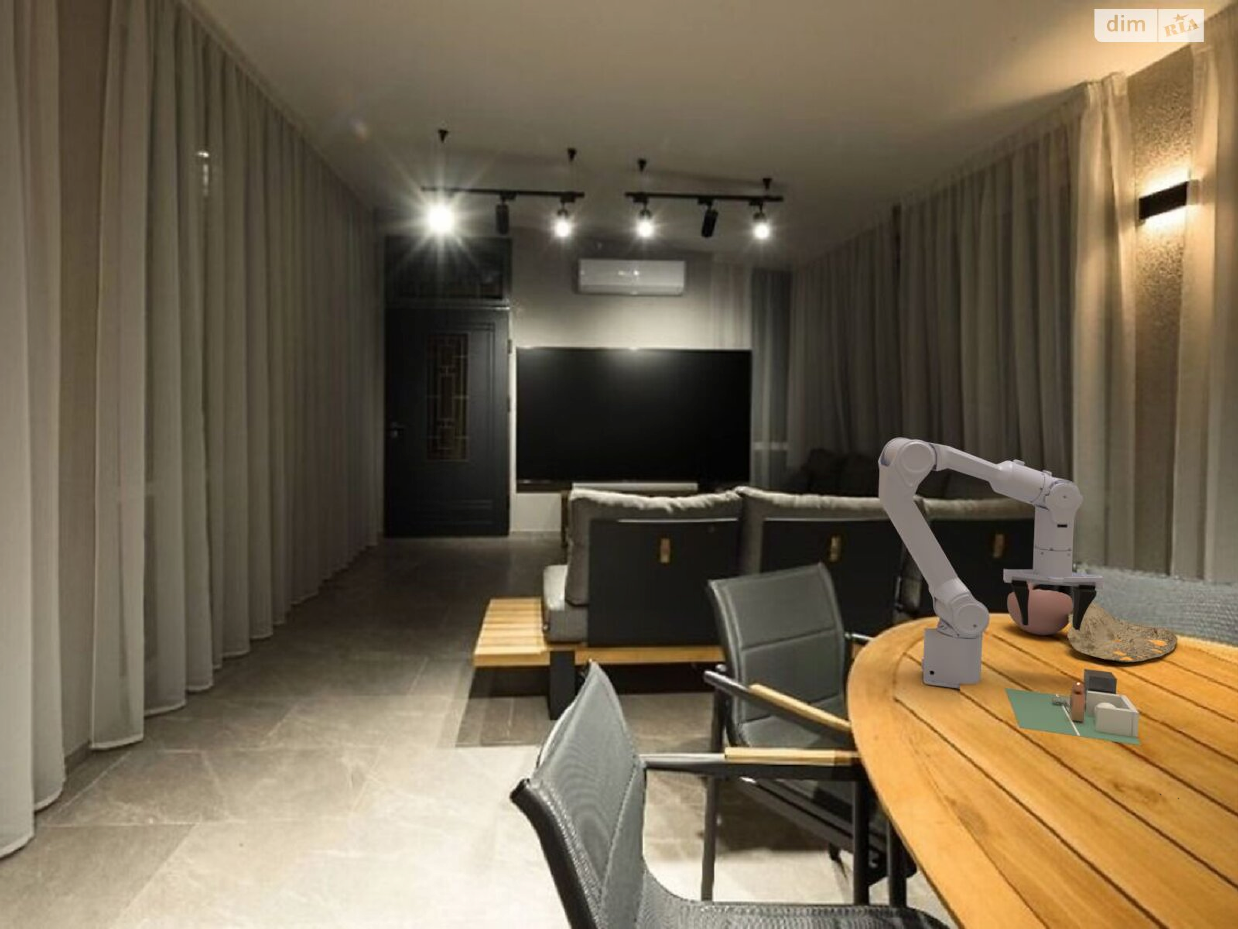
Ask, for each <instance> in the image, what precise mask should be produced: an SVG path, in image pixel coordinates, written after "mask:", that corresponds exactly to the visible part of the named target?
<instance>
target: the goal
mask: <svg viewBox="0 0 1238 929" xmlns="http://www.w3.org/2000/svg"><path fill="white" fill-rule="evenodd" d="M1099 703H1110V704H1112V705H1114V706H1115V707H1116V708H1114V707H1106V706H1099V705H1098V704H1099ZM1095 707H1096V721H1095V730H1096V731H1097V732H1104V733H1111V734H1118V735H1125V736H1132V737H1136V738H1139V737H1138V734H1139V719H1140V712H1139V710H1138V709H1137V708H1136V707H1135V706H1134V705H1133V703H1132V702H1131V701H1130V699H1129V698H1128V697H1127V695H1125V694H1117V693H1116V694H1109V693H1101V692H1093V691H1087V697H1086V715H1087V716H1094V717H1095V715H1094V709H1095Z"/></svg>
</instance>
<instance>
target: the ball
mask: <svg viewBox="0 0 1238 929" xmlns="http://www.w3.org/2000/svg"><path fill="white" fill-rule="evenodd" d="M1098 705H1099V706H1106V707H1114V708H1116V707H1115V706H1114V705H1112V704H1110V703H1099V704H1098ZM1094 715H1095V717H1096V707H1095V709H1094Z"/></svg>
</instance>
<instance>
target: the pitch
mask: <svg viewBox="0 0 1238 929" xmlns="http://www.w3.org/2000/svg"><path fill="white" fill-rule="evenodd" d="M1004 689H1005V693H1006V695H1007V698H1008V701H1009V702H1010V705H1011V709H1012V710H1013V715H1014V716H1015V719H1016V722H1017V725H1018V728H1020V729H1026V730H1033V731H1039V732H1047V733H1055V734H1060V735H1066V736H1073V737H1074V736H1075V737H1080V738H1088V739H1094V740H1101V741H1106V742H1107V741H1108V742H1114V743H1115V742H1116V743H1119V744H1127V745H1128V744H1129V745H1136V746H1142V743H1141V742H1140V740H1138V737H1132V736H1125V735H1118V734H1111V733H1104V732H1097V731H1096V730H1095V721H1096V717H1094V716H1087V715H1086V708H1085V709H1084V722H1082V721H1075V720H1072V719H1071V717H1070V715H1069V712H1068V710H1067V708H1066V706H1065V704H1060V703H1052V696H1056V697H1064V698H1070V695H1061V694H1058V693H1055V694H1054V693H1046V692H1041V691H1040V692H1039V691H1031V690H1024V689H1023V690H1022V689H1016V688H1015V689H1014V688H1009V687H1005V688H1004Z"/></svg>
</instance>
